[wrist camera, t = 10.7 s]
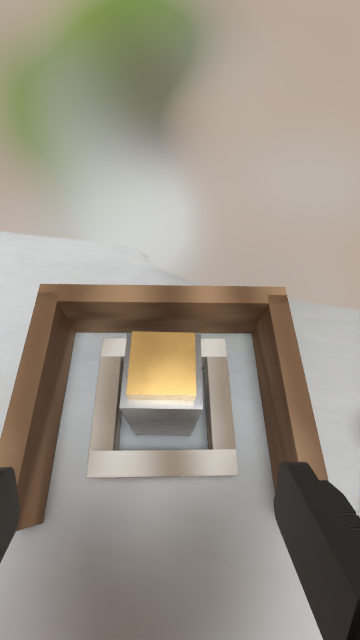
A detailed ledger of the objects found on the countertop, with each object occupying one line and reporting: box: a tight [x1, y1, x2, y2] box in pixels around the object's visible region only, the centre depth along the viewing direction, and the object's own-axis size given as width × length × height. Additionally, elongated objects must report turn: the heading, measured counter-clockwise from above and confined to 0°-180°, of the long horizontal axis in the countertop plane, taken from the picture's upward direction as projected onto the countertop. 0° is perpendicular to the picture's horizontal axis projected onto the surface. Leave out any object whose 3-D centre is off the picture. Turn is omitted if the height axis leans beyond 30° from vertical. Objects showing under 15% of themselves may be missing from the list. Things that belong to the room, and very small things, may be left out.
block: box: [119, 331, 203, 436], centre depth 19 cm, size 4×4×10 cm
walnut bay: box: [0, 284, 329, 531], centre depth 21 cm, size 18×15×5 cm
